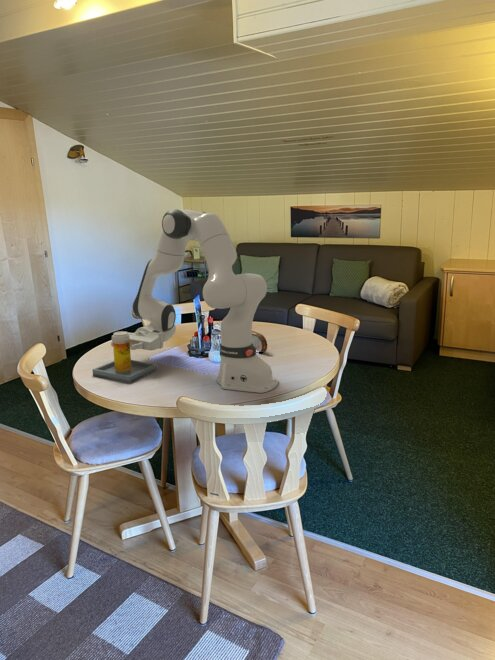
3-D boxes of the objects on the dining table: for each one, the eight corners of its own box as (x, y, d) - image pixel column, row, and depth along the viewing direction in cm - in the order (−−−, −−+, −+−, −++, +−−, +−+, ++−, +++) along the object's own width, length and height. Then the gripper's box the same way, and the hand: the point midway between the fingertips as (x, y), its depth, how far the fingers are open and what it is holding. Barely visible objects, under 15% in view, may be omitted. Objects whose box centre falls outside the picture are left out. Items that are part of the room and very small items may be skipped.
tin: (267, 354, 208) (267, 335, 206) (261, 355, 207) (261, 336, 204) (248, 346, 220) (248, 328, 218) (242, 347, 219) (242, 329, 216)
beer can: (126, 374, 181) (124, 335, 177) (112, 372, 182) (109, 334, 179) (134, 369, 187) (131, 331, 183) (120, 367, 188) (117, 330, 184)
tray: (157, 370, 188) (157, 364, 187) (129, 383, 174) (129, 377, 174) (121, 363, 196) (121, 357, 195) (92, 375, 182) (92, 369, 182)
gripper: (125, 326, 197) (100, 334, 185) (165, 332, 188) (142, 341, 176) (126, 341, 199) (101, 350, 187) (166, 348, 190) (143, 357, 178)
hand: (122, 346), depth 182 cm, fingers open, 8 cm apart
